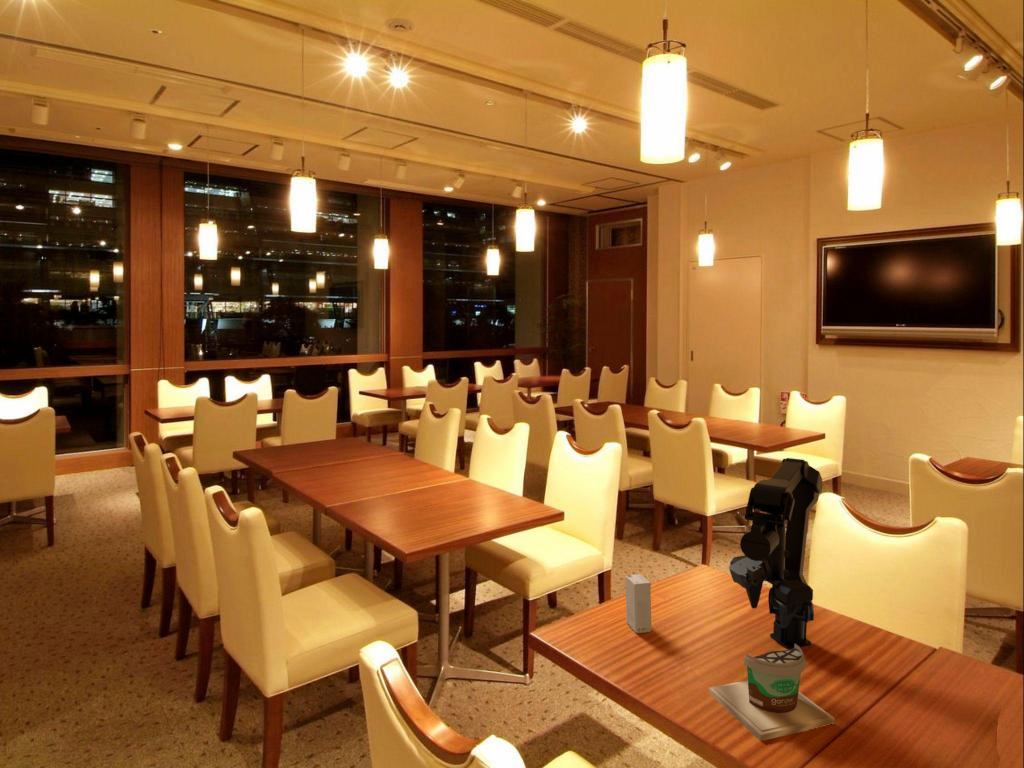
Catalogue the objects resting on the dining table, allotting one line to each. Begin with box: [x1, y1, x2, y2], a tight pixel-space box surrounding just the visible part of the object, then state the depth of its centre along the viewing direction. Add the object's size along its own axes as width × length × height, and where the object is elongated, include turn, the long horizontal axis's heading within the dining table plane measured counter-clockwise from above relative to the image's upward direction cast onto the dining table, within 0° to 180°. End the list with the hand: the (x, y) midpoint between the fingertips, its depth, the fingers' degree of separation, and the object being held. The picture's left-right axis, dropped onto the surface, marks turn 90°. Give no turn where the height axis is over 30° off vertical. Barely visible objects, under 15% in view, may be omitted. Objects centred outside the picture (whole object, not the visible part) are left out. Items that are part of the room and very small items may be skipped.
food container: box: [743, 644, 807, 713], centre depth 126 cm, size 12×6×10 cm, turn 108°
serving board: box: [708, 679, 836, 742], centre depth 128 cm, size 16×16×2 cm
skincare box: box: [625, 573, 652, 634], centre depth 161 cm, size 6×4×12 cm
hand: (768, 617), depth 138 cm, fingers open, 9 cm apart
